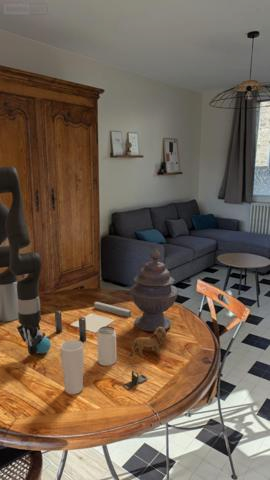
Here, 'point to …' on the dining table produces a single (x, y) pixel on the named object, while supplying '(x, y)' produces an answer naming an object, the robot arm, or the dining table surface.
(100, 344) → the can
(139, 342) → the lion figurine
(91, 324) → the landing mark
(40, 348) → the ball
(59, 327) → the post left
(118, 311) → the wall
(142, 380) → the strap clip
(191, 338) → the dining table surface
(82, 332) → the post right
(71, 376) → the drinking glass
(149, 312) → the decorative urn
